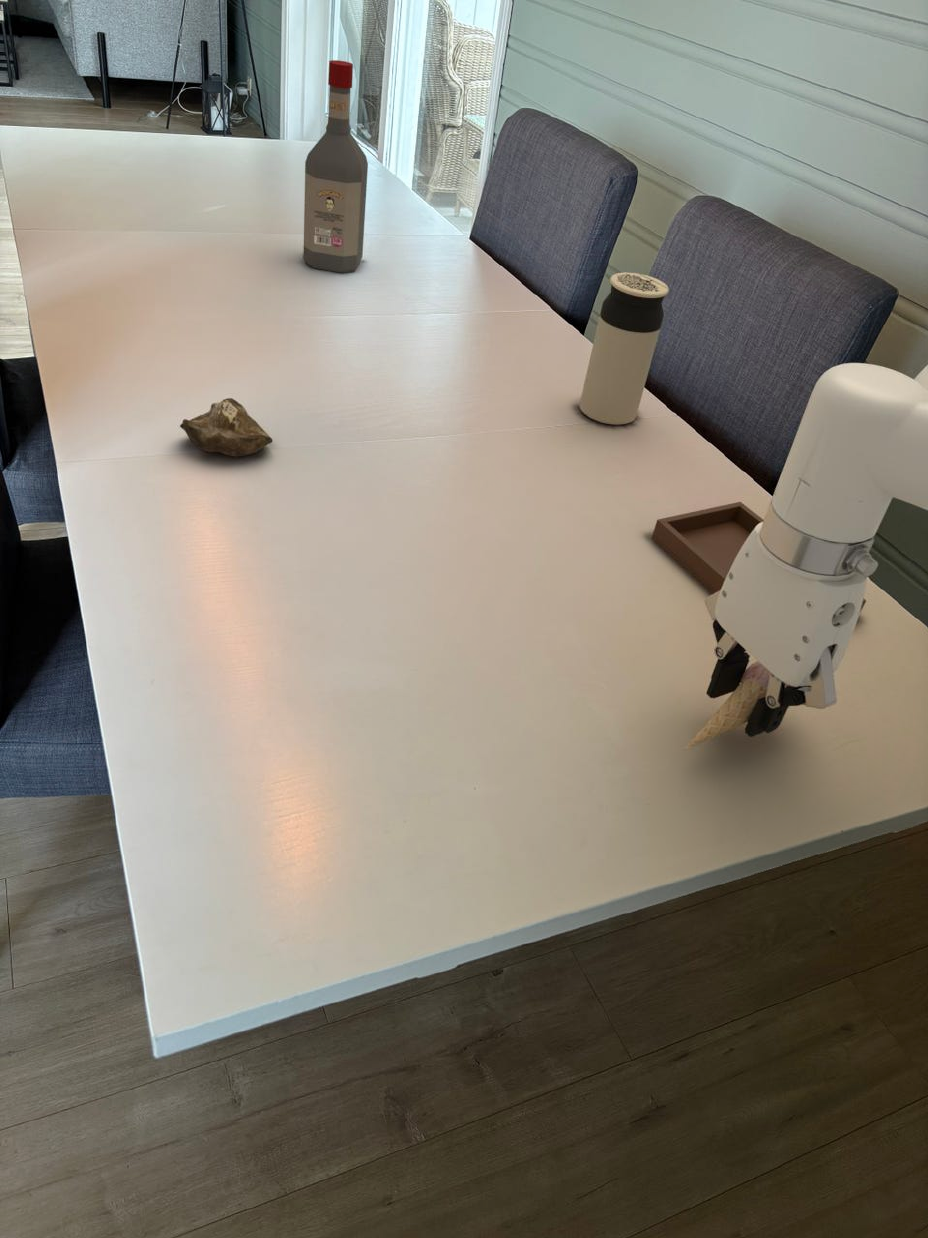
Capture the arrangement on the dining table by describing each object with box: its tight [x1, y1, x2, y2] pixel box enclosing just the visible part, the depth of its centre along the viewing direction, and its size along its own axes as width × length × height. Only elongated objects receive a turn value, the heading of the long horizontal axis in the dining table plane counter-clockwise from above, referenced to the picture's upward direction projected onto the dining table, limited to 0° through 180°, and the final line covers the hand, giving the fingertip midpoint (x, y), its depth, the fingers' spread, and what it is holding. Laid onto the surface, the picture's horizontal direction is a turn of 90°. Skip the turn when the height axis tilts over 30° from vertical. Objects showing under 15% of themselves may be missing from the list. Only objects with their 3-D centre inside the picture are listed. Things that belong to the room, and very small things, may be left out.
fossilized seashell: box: [179, 397, 273, 458], centre depth 104 cm, size 8×7×10 cm
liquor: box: [302, 59, 369, 274], centre depth 148 cm, size 9×9×30 cm
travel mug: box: [578, 272, 670, 426], centre depth 120 cm, size 8×8×18 cm
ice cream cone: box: [683, 660, 811, 751], centre depth 77 cm, size 5×5×15 cm
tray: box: [651, 501, 867, 615], centre depth 99 cm, size 20×13×2 cm, turn 29°
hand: (740, 709), depth 78 cm, fingers closed on ice cream cone, 4 cm apart
